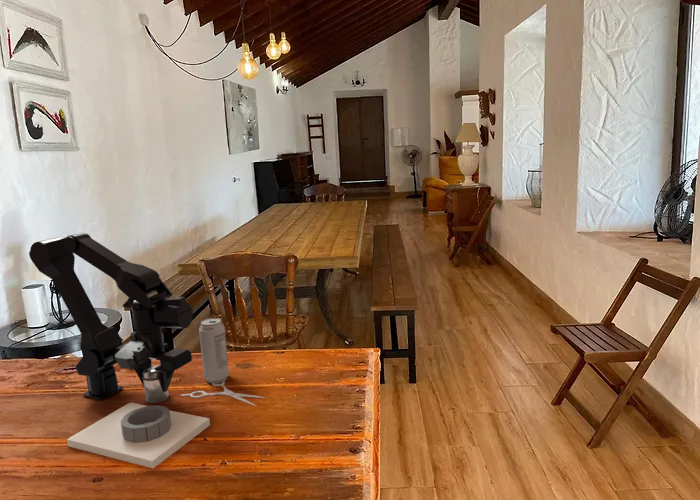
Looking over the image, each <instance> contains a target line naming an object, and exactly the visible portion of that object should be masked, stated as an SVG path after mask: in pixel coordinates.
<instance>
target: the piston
mask: <svg viewBox="0 0 700 500" xmlns="http://www.w3.org/2000/svg"><path fill="white" fill-rule="evenodd" d="M158 366H160V364H159V365H153V366H152V365H151V367H148V368H146V369H144V370H143V371H142V378H143V382H144V386H143V389H144V397H145V402H146V403H147V404H157V403H158V402H159V403H162V402H164V401H166V400H167V399H169V389H168V390H167V391H166V392H163V390H162V387H161V382H160V376H159V372H157V371H156V370H154V368H156V367H158ZM161 401H162V402H161Z"/></svg>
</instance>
